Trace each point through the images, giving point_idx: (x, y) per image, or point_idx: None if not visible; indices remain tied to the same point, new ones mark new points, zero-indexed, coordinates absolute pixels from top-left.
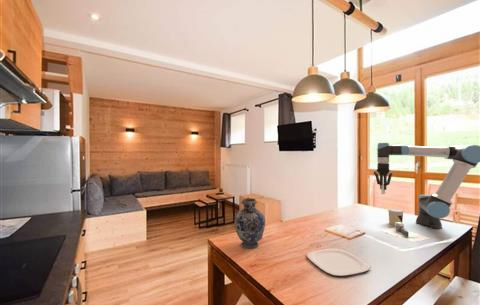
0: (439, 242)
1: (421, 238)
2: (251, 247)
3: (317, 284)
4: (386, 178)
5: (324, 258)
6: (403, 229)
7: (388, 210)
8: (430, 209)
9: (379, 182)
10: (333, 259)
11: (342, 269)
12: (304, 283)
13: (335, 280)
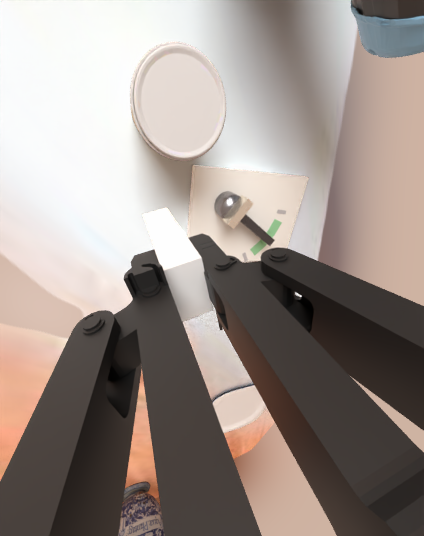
0: (320, 166)
1: (291, 208)
2: (149, 488)
3: (253, 429)
4: (343, 382)
5: (222, 418)
6: (257, 233)
7: (149, 144)
8: (399, 56)
9: (111, 349)
10: (231, 410)
11: (252, 407)
12: (245, 437)
13: (259, 416)
